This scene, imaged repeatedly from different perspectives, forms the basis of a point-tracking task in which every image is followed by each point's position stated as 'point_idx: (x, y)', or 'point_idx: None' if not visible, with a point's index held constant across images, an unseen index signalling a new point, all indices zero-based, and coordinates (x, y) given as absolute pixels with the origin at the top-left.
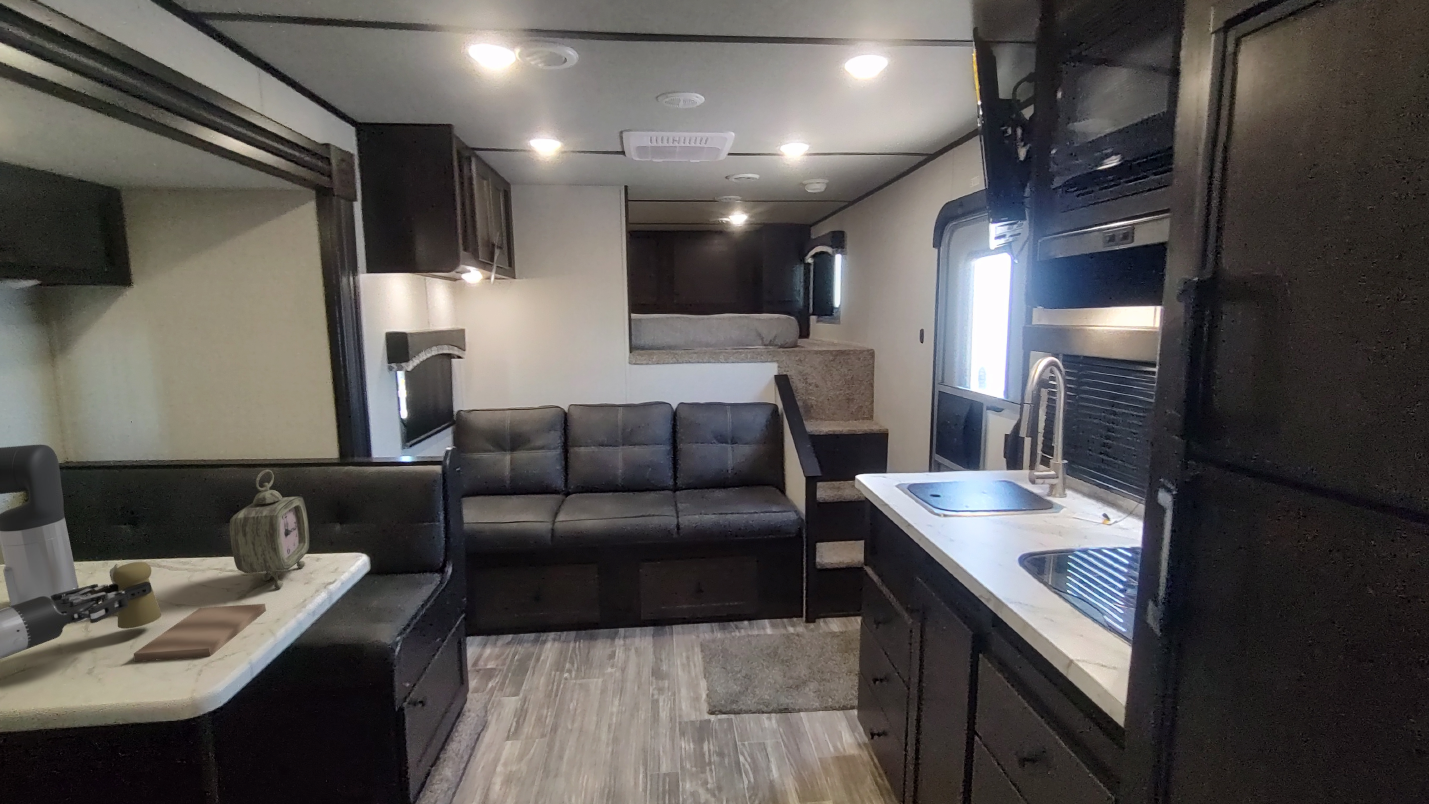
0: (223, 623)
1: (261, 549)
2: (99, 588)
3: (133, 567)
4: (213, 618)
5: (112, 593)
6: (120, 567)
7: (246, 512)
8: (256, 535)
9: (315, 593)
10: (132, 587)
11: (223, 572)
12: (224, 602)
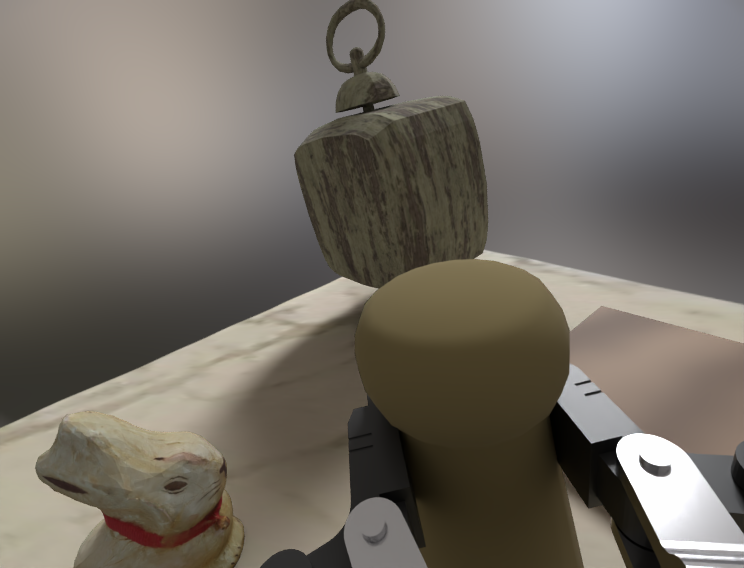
0: (716, 372)
1: (463, 205)
2: (416, 566)
3: (513, 276)
4: (635, 384)
5: (688, 514)
6: (429, 318)
7: (390, 111)
8: (450, 166)
9: (561, 273)
10: (589, 401)
11: (255, 354)
12: None
